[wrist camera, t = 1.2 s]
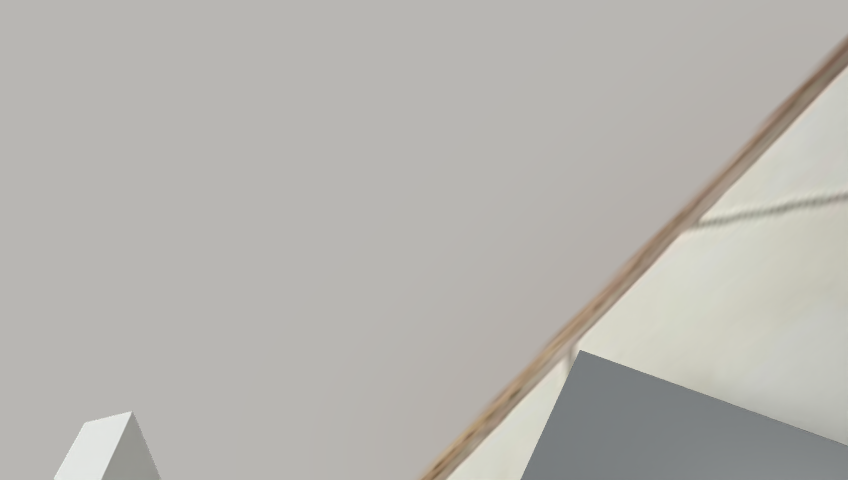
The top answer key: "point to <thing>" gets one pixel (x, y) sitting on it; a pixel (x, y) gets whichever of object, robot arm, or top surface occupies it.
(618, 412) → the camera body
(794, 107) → the top surface
